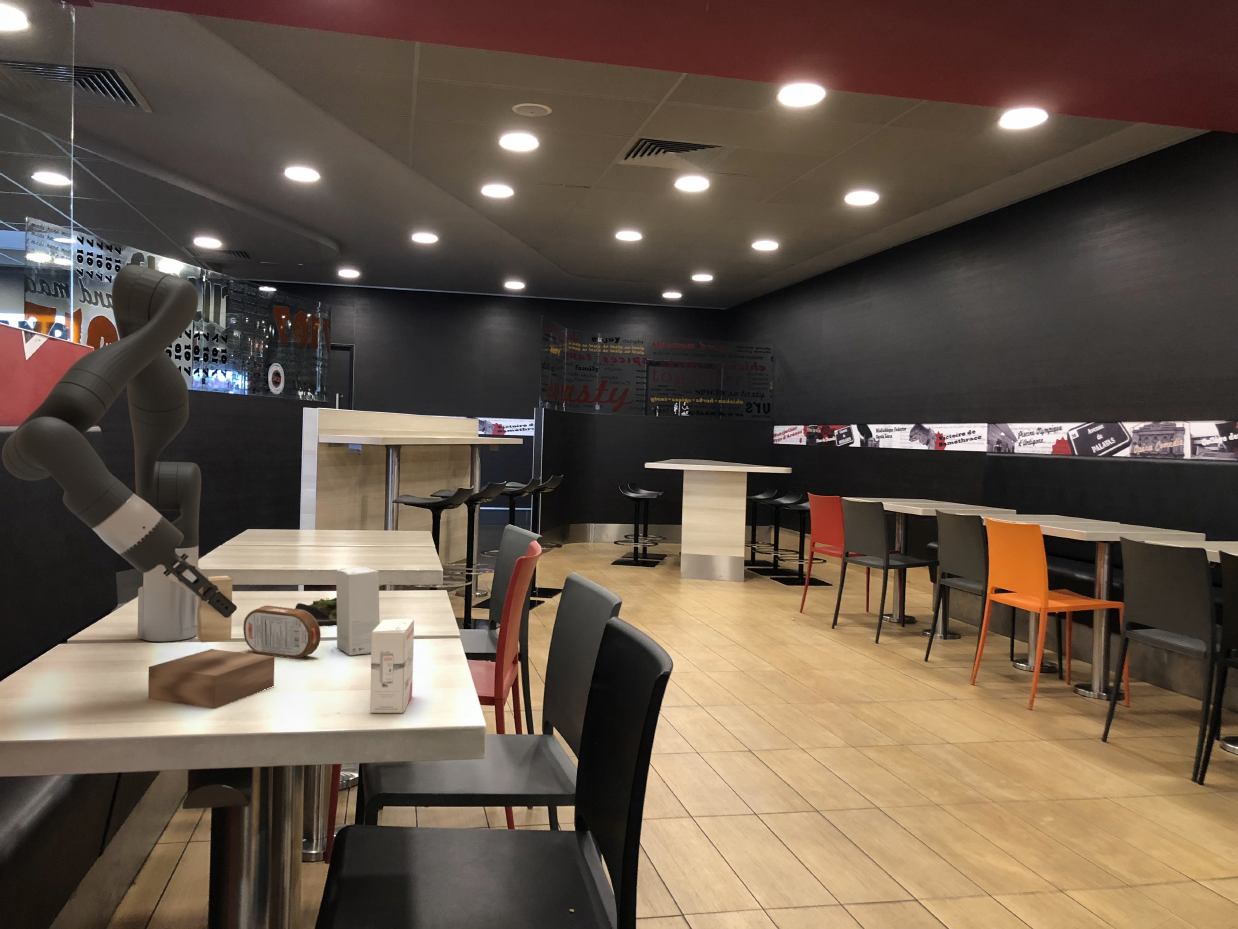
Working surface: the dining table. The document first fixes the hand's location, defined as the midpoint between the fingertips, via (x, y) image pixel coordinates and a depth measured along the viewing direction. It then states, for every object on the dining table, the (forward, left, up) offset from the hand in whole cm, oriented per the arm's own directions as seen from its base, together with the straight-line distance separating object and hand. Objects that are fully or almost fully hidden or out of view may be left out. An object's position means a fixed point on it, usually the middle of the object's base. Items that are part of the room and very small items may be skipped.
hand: (228, 610), depth 128 cm
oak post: (-1, -1, -4) cm, 5 cm away
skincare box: (+7, +29, -12) cm, 32 cm away
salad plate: (-12, +53, -13) cm, 56 cm away
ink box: (+27, 0, -12) cm, 29 cm away
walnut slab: (-1, -1, -13) cm, 13 cm away
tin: (-4, +22, -13) cm, 25 cm away
